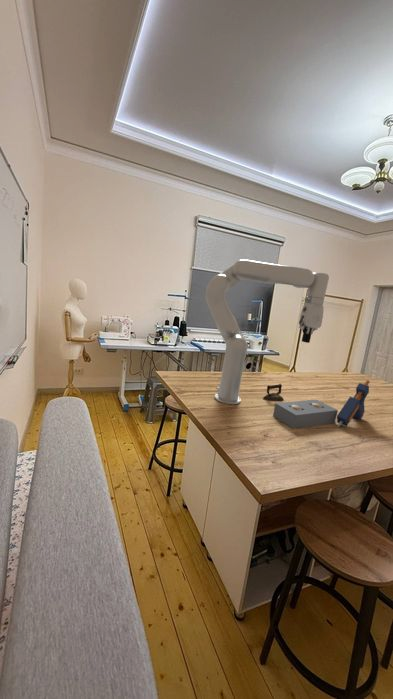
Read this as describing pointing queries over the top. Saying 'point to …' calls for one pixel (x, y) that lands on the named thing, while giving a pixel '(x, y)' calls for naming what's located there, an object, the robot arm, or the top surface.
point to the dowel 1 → (296, 407)
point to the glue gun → (354, 405)
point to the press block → (304, 414)
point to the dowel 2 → (316, 405)
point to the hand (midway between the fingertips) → (305, 342)
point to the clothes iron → (273, 395)
